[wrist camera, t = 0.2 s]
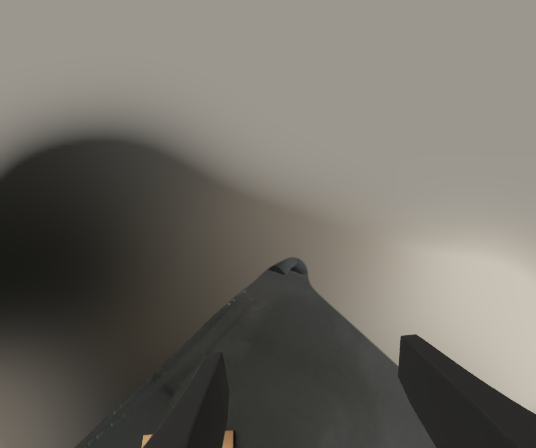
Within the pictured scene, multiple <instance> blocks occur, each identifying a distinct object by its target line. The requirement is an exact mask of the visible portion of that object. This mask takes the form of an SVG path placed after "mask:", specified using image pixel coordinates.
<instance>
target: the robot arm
mask: <svg viewBox="0 0 536 448" xmlns="http://www.w3.org/2000/svg"><path fill="white" fill-rule="evenodd" d="M398 377H399V379H400V382H401V384H402V386H403V388H404V391H405V393H406V395H407V397H408V399H409V401H410V403H411V405H412V407H413V409H414V410H415V412H416V414H417V416H418V417H419V419H420V421H421V422H422V424H423V426H424V428H425V429H426V431H427V433H428V434H429V436H430V438H431V439H432V441H433V443H434V444H435V446H436V448H536V414H534V413H532V412H531V411H529V410H527V409H525V408H524V407H522V406H521V405H519V404H517V403H516V402H514V401H512V400H511V399H509V398H508V397H506V396H504V395H503V394H502V393H500V392H498V391H497V390H495V389H494V388H492V387H491V386H489V385H488V384H486V383H485V382H483V381H481V380H480V379H479V378H477V377H476V376H474V375H473V374H471V373H470V372H468V371H467V370H465V369H464V368H463V367H461V366H460V365H458V364H457V363H455V362H454V361H453V360H451V359H450V358H448V357H447V356H446V355H444V354H443V353H441V352H440V351H439V350H437V349H436V348H435V347H433V346H432V345H430V344H429V343H428V342H426V341H425V340H423V339H422V338H420V337H419V336H417V335H405V336H401V340H400V356H399V369H398ZM228 400H229V388H228V382H227V376H226V371H225V365H224V359H223V354H222V352H218V353H207V354H206V355H205V357H204V359H203V360H202V362H201V364H200V365H199V367H198V369H197V370H196V372H195V374H194V375H193V377H192V379H191V380H190V382H189V383H188V385H187V387H186V388H185V390H184V391H183V393H182V394H181V396H180V397H179V399H178V400H177V402H176V403H175V405H174V406H173V408H172V409H171V410H170V412H169V413H168V415H167V416H166V417H165V419H164V420H163V421H162V423H161V424H160V426H159V427H158V428H157V430H156V431H155V432H154V434H153V435H152V436H151V438H150V439H149V440H148V441H147V443H146V444H145V445H144V446H143V448H222V446H223V441H224V435H225V429H226V423H227V413H228Z"/></svg>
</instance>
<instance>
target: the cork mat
mask: <svg viewBox="0 0 536 448" xmlns="http://www.w3.org/2000/svg"><path fill="white" fill-rule="evenodd" d="M152 435H153V434H152ZM152 435H144V436H143V442H142V448H143V446H144V445H145V444H146V443H147V441H148V440H149V439H150V438H151V436H152ZM233 439H234V430H229V431H225V435H224V441H223V446H222V448H233Z"/></svg>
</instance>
